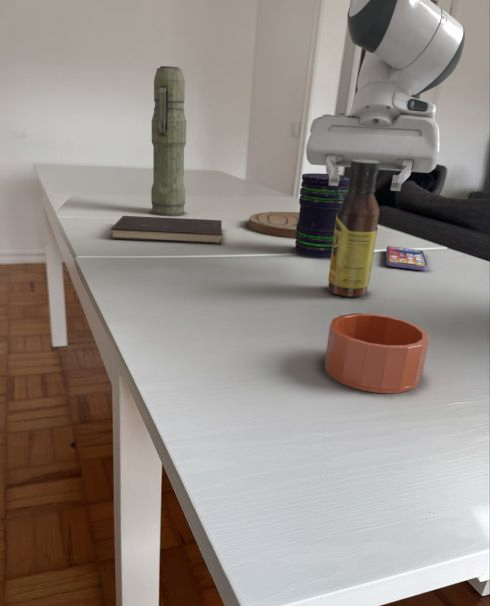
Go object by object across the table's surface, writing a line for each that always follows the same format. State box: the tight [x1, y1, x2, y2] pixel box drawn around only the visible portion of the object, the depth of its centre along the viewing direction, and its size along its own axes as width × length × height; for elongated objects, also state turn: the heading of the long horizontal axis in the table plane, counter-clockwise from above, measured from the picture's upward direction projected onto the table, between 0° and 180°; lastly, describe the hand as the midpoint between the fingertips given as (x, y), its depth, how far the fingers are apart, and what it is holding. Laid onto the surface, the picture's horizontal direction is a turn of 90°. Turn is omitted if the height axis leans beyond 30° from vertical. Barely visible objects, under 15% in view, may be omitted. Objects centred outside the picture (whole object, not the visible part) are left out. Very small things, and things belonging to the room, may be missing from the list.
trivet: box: [248, 211, 300, 239], centre depth 135 cm, size 25×25×2 cm
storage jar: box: [294, 172, 350, 260], centre depth 109 cm, size 10×10×15 cm
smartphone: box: [385, 245, 428, 271], centre depth 108 cm, size 1×7×15 cm
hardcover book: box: [110, 215, 223, 245], centre depth 121 cm, size 16×23×2 cm
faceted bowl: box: [324, 312, 430, 394], centre depth 59 cm, size 10×10×5 cm
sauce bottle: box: [327, 159, 380, 298], centre depth 82 cm, size 6×6×20 cm
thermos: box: [150, 65, 187, 217], centre depth 141 cm, size 9×12×35 cm
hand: (364, 185), depth 85 cm, fingers open, 8 cm apart
